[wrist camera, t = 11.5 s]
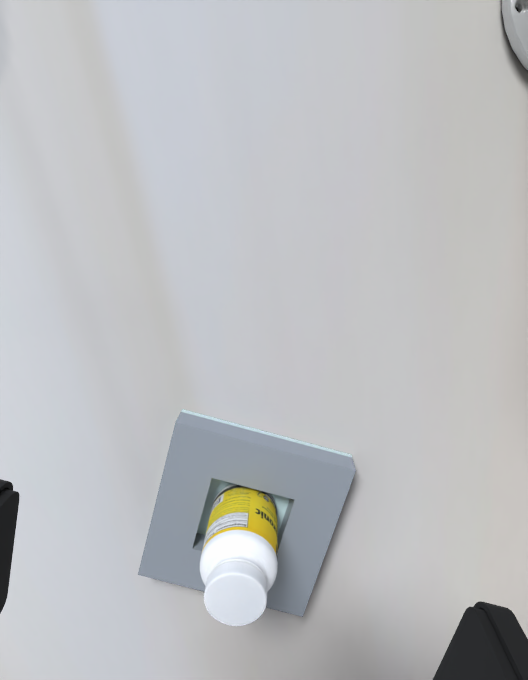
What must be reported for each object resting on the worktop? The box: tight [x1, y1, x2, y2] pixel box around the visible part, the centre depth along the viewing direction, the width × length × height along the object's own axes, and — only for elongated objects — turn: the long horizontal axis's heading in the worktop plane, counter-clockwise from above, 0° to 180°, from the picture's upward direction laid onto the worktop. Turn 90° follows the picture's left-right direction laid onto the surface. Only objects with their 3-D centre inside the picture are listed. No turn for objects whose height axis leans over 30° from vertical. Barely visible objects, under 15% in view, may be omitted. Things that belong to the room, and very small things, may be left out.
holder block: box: [138, 409, 356, 617], centre depth 38 cm, size 14×14×2 cm
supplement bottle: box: [200, 484, 278, 626], centre depth 34 cm, size 5×5×10 cm
